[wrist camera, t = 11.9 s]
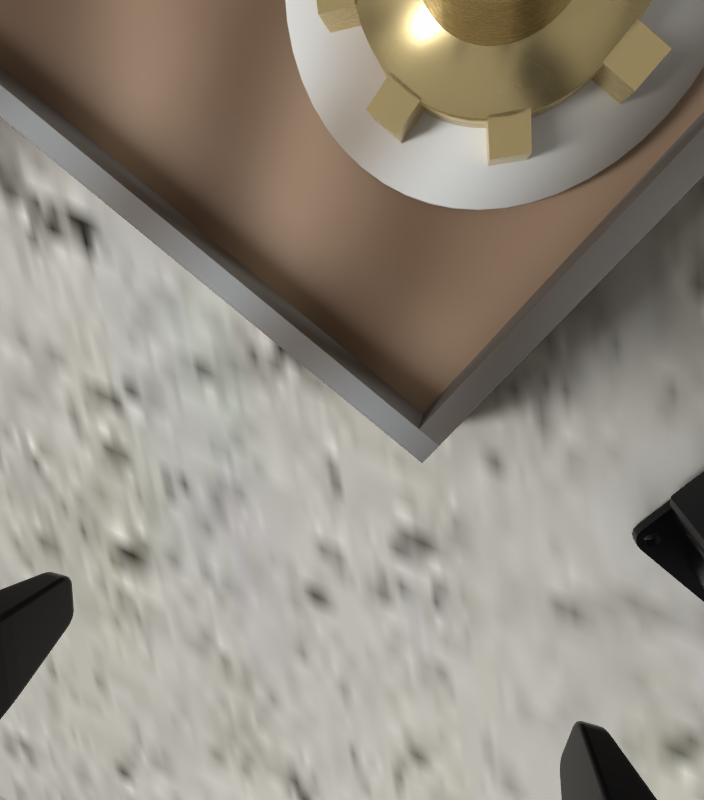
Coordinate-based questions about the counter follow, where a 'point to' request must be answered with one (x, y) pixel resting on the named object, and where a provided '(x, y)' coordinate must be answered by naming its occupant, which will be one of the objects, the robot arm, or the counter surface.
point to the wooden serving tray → (351, 186)
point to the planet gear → (496, 60)
